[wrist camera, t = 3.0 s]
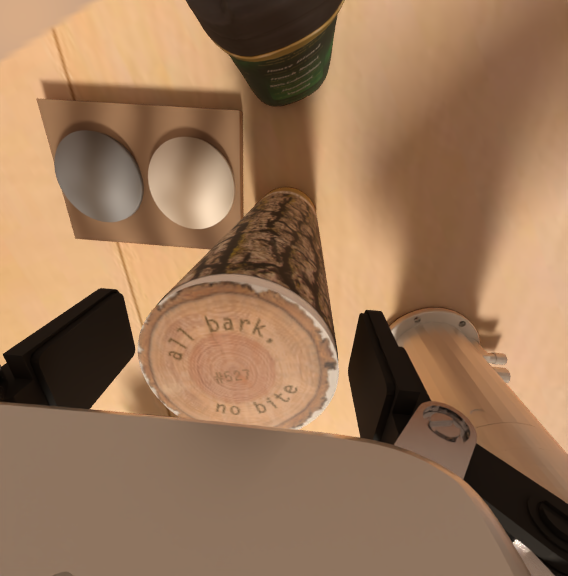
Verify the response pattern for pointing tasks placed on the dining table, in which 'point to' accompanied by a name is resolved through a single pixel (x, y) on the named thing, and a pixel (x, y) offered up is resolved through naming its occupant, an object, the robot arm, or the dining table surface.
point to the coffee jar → (274, 42)
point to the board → (147, 171)
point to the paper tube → (249, 324)
